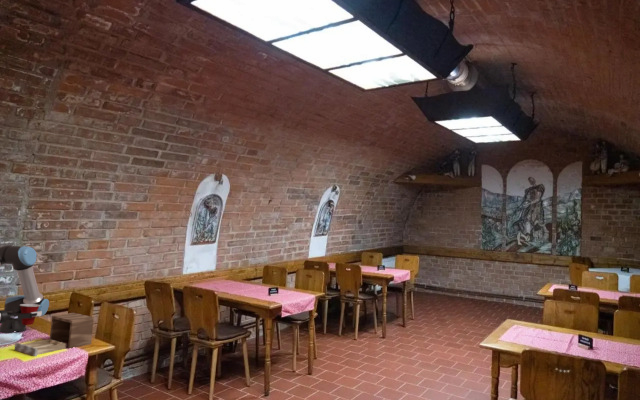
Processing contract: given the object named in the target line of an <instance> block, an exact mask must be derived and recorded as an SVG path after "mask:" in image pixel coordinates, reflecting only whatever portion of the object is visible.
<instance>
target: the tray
mask: <svg viewBox="0 0 640 400" xmlns="http://www.w3.org/2000/svg"><path fill="white" fill-rule="evenodd" d="M66 348H67V343H65V342H63V341H61V342H59V341H55V340H51V339H50V338H48V339H43V340H37V341H33V342H28V343H23V344H22V343H19V342H15V343H14V351H16V352H20V353H23V354H26V355H29V356H32V357H37V356H38V355H42V354H47V353H52V352H56V351H62V350H66Z"/></svg>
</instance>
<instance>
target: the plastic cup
mask: <svg viewBox="0 0 640 400" xmlns="http://www.w3.org/2000/svg"><path fill="white" fill-rule="evenodd" d="M39 306H40V305H37V304H21V305H20V307H21V313H31V312H37V310H38V308H39ZM35 319H36V317H32V318H31V319H30V318H25V319H22V324H23V325H26V326H29V325H30V326H31V325H34V322H35Z"/></svg>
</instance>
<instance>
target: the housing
mask: <svg viewBox="0 0 640 400" xmlns="http://www.w3.org/2000/svg"><path fill="white" fill-rule="evenodd" d="M93 326H94V316H91V315H85V314H81V313H76V312H70V313H63V314H56V315H52V316H51V324H50V332H49V339H51V340H55V341H59V342H60V341H61V342H64V341H68V345H67V349H69V348H71V349H74V348H73V347H75V348H79V347H84V346H89V345H92V341H93V339H92V338H93V329H94V327H93Z"/></svg>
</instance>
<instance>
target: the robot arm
mask: <svg viewBox="0 0 640 400" xmlns="http://www.w3.org/2000/svg"><path fill="white" fill-rule="evenodd" d="M37 256H38V255H37V252H36V250H35V249H34V248H33V247H31V246H27V245H26V246H25V245H23V246H22V245H21V246H19V245H7V244H6V245H3V246H0V267H1V266H2V265H11V266H12V269H13V270H14V271H16V272H17V276H18V279H19V282H20V285H21V286H20V287H21V288H22V293H23V294H18V295H13V296H8V297H6V298H5V302H4V308H3V309H1V310H0V333H5V334H7V333H8V334H9V333H10V332H14V331H19V332H18V333H22V332H25V331H26V330H27V325H23V324H22V319H25V318H30V319H31V318H32V317H35V318H36V317H42V316H44V315H45V314H46V313H47V311H48V310H49V306H50V301H49V299H48V298H45V297H44V294H43V293H41V292H40V289H39V286H38V283H37V279H36V276H35V272H34V267H33V266H34V265H35V263H36V261H37ZM21 304H37V305H40V306H39V308H38V310H37V312H31V313H21V307H20V305H21ZM10 334H11V333H10Z"/></svg>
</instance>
